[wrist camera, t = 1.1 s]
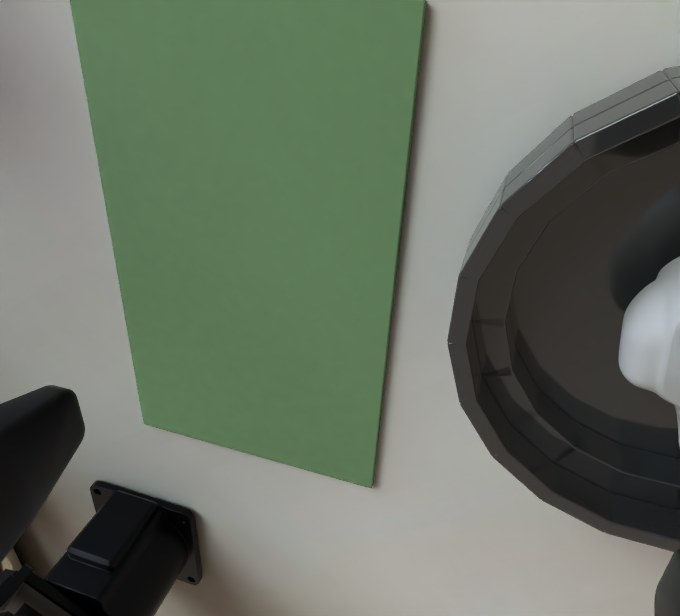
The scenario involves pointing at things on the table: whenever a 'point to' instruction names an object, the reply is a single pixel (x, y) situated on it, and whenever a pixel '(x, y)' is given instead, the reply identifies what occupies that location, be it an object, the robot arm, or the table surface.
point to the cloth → (257, 211)
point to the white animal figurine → (654, 337)
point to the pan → (577, 315)
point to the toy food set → (10, 562)
